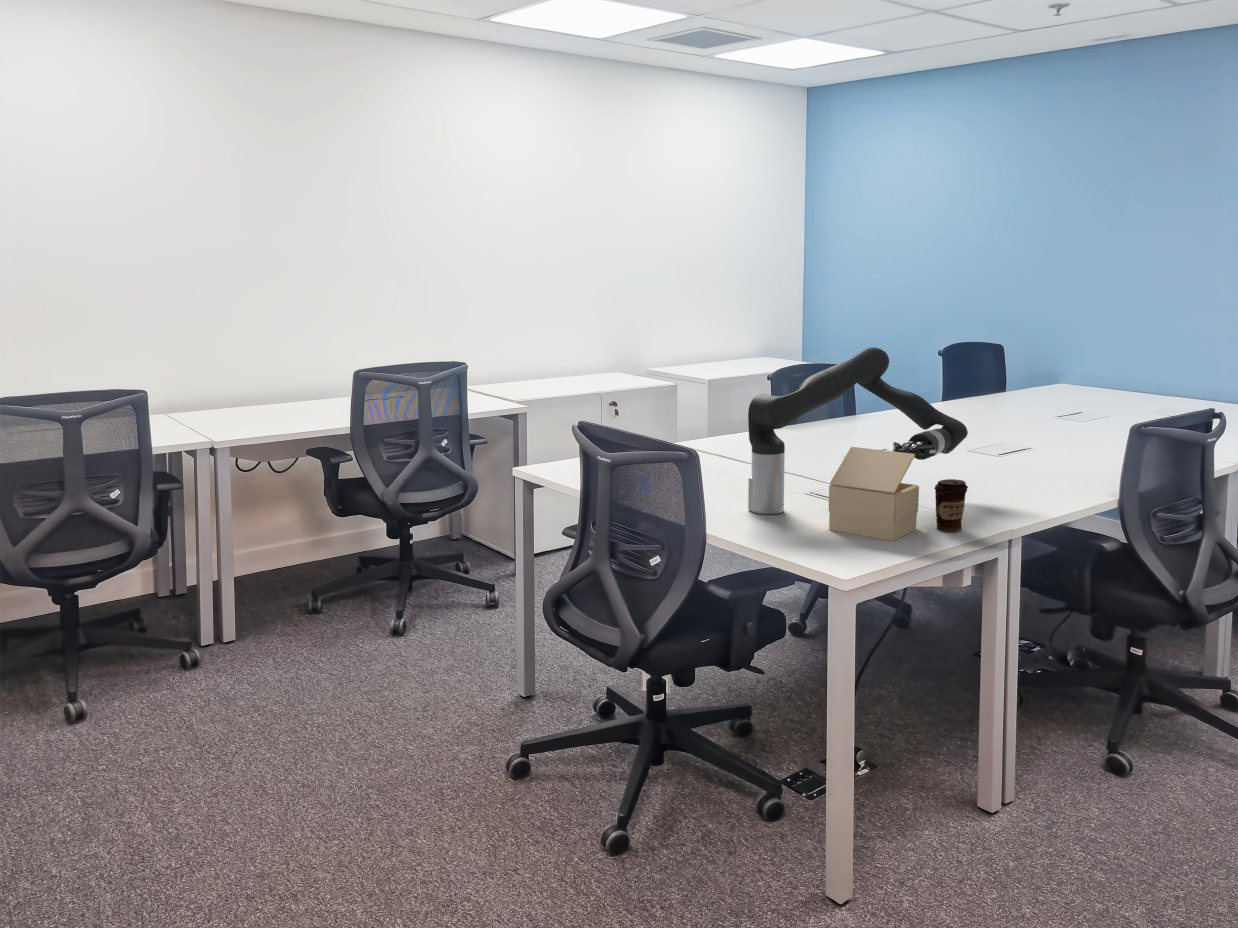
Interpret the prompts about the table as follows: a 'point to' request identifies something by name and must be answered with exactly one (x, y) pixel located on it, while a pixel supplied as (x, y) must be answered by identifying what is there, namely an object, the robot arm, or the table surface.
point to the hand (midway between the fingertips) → (900, 453)
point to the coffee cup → (950, 504)
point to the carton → (874, 511)
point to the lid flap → (872, 469)
